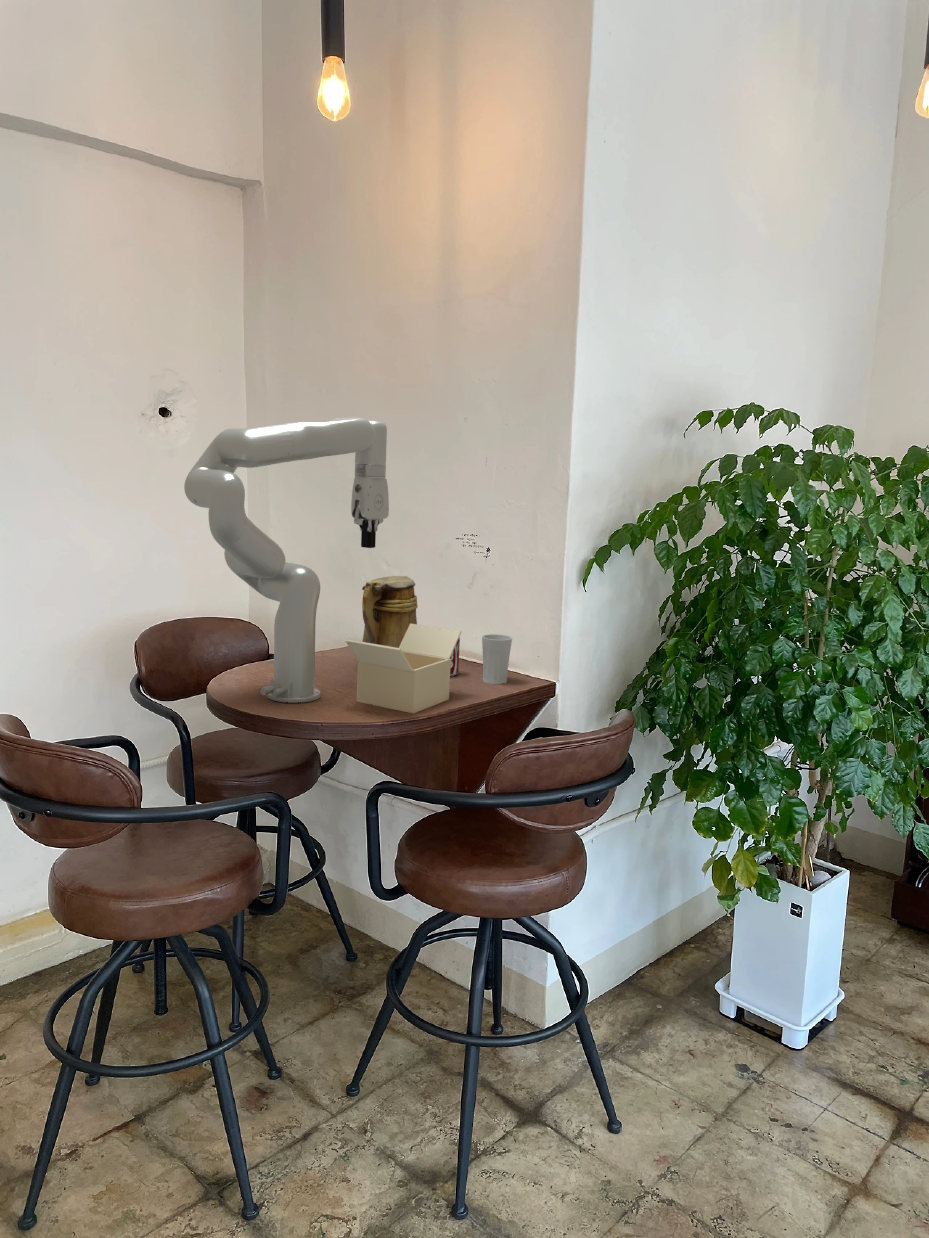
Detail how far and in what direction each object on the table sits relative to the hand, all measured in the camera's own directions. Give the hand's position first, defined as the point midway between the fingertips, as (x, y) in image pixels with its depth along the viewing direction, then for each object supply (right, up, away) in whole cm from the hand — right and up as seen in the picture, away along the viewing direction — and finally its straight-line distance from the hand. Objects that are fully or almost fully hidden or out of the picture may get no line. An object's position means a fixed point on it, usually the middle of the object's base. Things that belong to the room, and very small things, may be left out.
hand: (368, 547), depth 222 cm
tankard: (+2, -31, +27) cm, 41 cm away
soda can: (+19, -33, +22) cm, 44 cm away
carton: (+9, -37, -7) cm, 39 cm away
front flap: (+5, -26, -18) cm, 32 cm away
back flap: (+15, -23, 0) cm, 28 cm away
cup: (+32, -35, +17) cm, 50 cm away
